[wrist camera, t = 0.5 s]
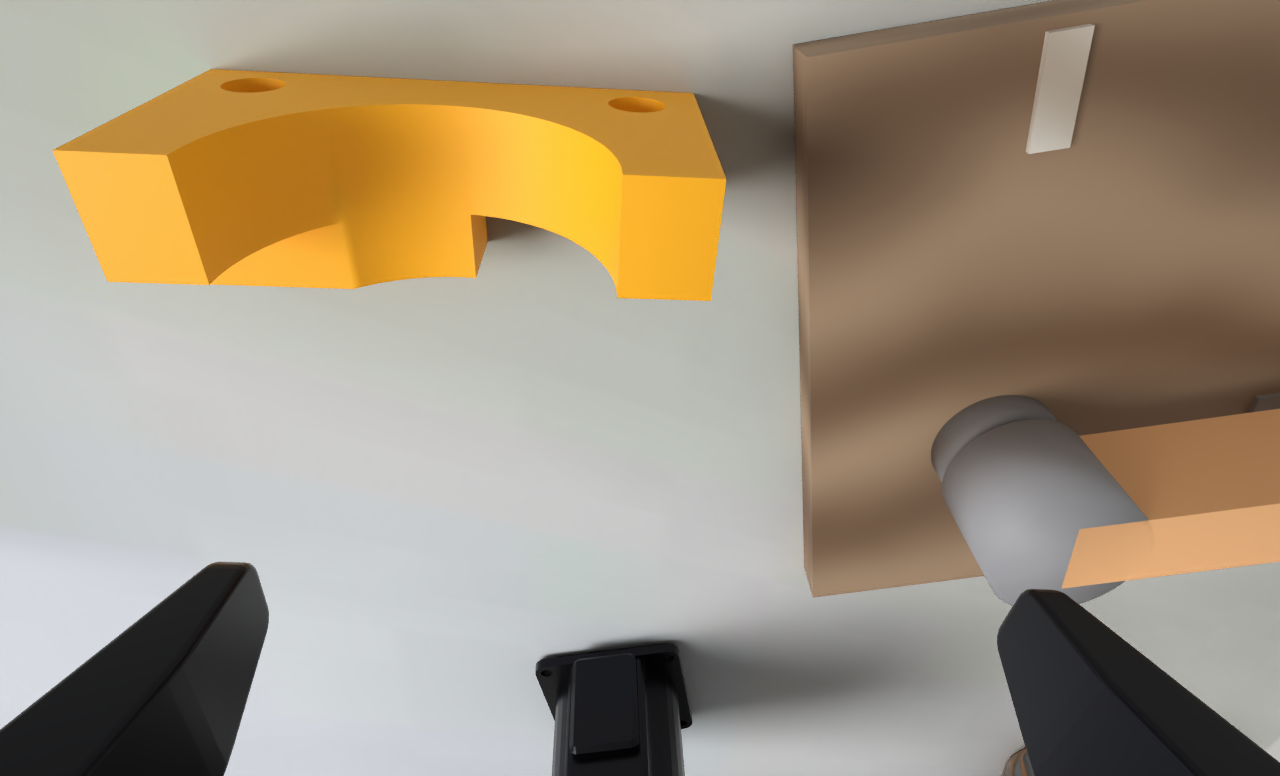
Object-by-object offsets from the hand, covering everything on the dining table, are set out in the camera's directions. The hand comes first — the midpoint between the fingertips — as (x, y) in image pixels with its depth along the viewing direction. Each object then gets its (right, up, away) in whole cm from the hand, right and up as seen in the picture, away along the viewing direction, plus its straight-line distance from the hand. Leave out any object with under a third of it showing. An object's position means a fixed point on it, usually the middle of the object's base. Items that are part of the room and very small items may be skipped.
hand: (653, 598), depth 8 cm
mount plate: (+14, +4, +15) cm, 21 cm away
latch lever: (+17, +1, +14) cm, 22 cm away
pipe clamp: (-5, +9, +11) cm, 15 cm away
